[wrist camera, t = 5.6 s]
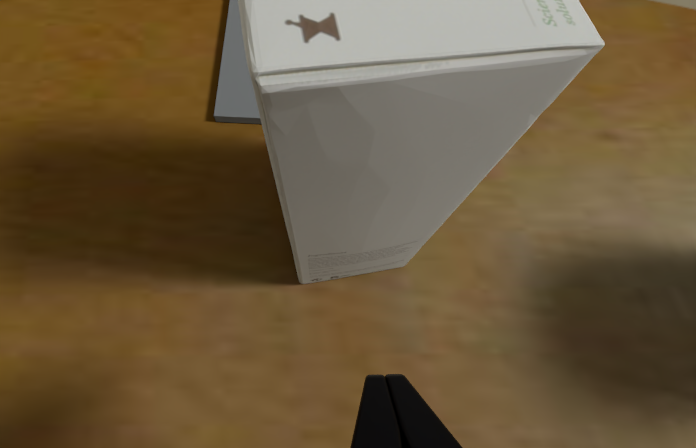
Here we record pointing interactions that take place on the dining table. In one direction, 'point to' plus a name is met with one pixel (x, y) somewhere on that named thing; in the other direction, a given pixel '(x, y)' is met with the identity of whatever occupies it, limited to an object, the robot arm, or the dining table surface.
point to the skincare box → (397, 111)
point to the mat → (235, 77)
